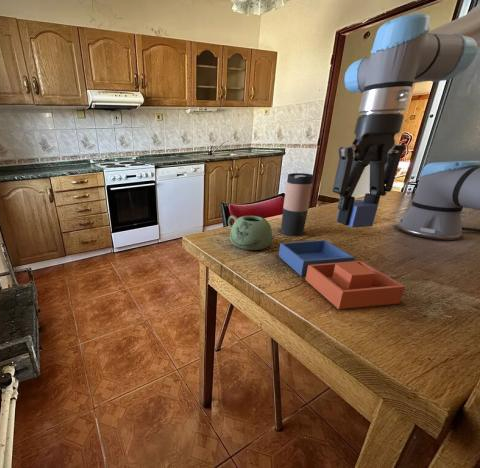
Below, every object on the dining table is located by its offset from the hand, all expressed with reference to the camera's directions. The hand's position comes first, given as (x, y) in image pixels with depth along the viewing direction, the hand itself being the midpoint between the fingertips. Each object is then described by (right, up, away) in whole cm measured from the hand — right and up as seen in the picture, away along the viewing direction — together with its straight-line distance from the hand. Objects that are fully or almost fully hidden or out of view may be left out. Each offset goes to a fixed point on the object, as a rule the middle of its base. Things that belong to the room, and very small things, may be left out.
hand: (353, 222), depth 60 cm
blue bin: (-5, -11, +9) cm, 15 cm away
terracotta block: (-4, -15, -4) cm, 16 cm away
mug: (-18, -6, +23) cm, 30 cm away
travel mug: (0, -2, +30) cm, 30 cm away
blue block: (0, 0, 0) cm, 0 cm away
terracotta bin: (-4, -15, -3) cm, 16 cm away
